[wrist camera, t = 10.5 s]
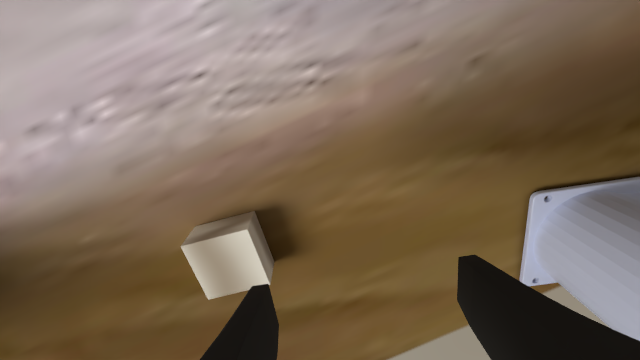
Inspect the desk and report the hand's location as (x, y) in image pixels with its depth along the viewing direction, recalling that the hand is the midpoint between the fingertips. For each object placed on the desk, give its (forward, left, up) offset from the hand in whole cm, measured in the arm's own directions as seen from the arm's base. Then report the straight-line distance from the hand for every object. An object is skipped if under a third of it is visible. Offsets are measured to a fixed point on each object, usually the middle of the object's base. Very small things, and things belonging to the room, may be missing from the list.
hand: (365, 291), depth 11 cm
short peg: (+8, +3, -10) cm, 13 cm away
